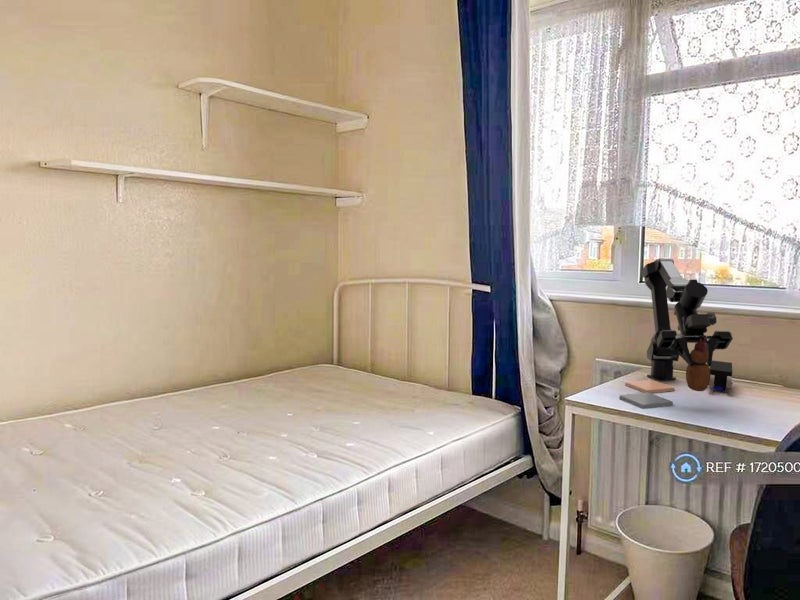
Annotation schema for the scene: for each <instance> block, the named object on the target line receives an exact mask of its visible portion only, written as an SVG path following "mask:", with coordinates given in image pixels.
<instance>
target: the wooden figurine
mask: <svg viewBox="0 0 800 600" xmlns="http://www.w3.org/2000/svg"><path fill="white" fill-rule="evenodd" d="M705 341H706V338H705V337H704V340H703V343H702V338H700V342H699V341H698V342H697V343H694V348H693V349H692V350H690V356H691V359H692V366H689V365H688V364H687V367H686V371H685V380H686V384H687V387H688V388H689V389H690V390H692V391H696V392H704V391H706V390H707V389H708V387H709V382H710V367H709V366H708V364H707V362H708V358H709V356H708V352H707V351H705Z"/></svg>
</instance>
